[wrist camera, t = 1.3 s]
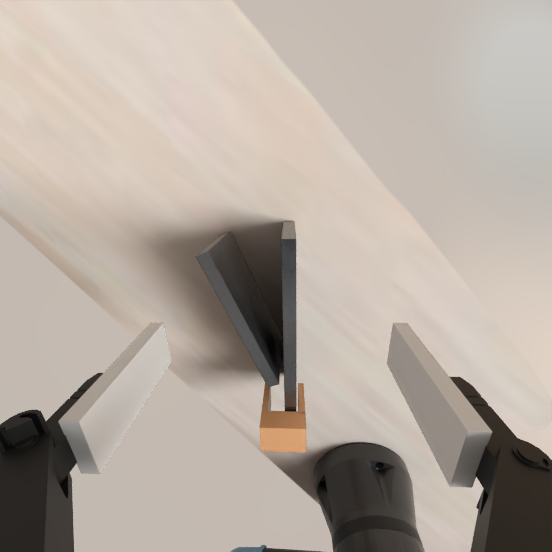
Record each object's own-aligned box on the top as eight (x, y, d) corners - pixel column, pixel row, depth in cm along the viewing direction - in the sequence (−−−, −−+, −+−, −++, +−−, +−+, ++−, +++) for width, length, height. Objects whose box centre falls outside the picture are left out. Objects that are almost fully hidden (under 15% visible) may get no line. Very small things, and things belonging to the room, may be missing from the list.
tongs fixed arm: (295, 375, 37) (296, 432, 29) (273, 374, 37) (268, 432, 29) (294, 221, 30) (296, 238, 21) (266, 221, 30) (257, 239, 21)
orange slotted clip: (303, 404, 32) (305, 452, 27) (266, 403, 32) (261, 451, 27) (303, 383, 31) (306, 429, 25) (265, 382, 31) (259, 427, 26)
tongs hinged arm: (281, 335, 35) (278, 384, 27) (273, 338, 35) (268, 387, 27) (230, 231, 30) (207, 250, 22) (220, 235, 30) (195, 256, 22)
